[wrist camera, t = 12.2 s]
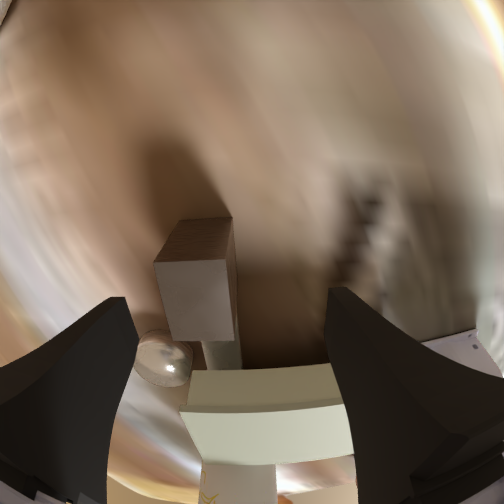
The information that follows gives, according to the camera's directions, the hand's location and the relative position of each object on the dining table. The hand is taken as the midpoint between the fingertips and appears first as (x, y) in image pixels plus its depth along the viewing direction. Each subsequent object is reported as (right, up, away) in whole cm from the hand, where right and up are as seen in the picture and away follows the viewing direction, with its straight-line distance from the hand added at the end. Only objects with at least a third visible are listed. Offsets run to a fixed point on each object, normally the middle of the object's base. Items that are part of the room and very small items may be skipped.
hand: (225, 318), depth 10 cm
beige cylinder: (-1, -19, +20) cm, 28 cm away
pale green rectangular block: (+5, -9, +15) cm, 18 cm away
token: (-7, -6, +14) cm, 17 cm away
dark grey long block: (-2, -3, +12) cm, 13 cm away
